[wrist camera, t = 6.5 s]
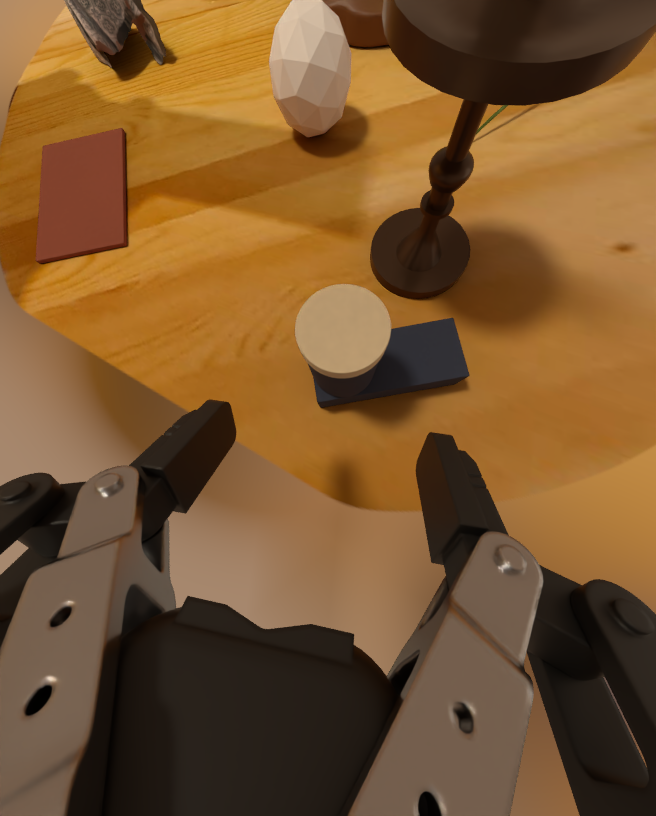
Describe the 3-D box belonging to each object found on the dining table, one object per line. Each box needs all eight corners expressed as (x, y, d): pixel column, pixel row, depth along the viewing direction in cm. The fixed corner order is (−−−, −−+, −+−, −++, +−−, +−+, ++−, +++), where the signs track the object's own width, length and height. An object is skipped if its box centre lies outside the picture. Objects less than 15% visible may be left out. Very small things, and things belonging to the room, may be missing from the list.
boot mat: (127, 245, 26) (123, 242, 25) (40, 263, 26) (35, 261, 26) (125, 131, 29) (122, 127, 28) (46, 149, 29) (42, 145, 29)
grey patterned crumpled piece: (122, 50, 26) (5, -60, 24) (150, 124, 33) (61, 44, 30) (173, 11, 28) (69, -96, 25) (190, 89, 34) (108, 11, 32)
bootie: (319, 409, 21) (302, 381, 13) (310, 354, 22) (288, 293, 13) (455, 385, 21) (537, 339, 12) (440, 331, 22) (506, 251, 13)
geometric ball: (304, 166, 29) (245, 102, 23) (322, 85, 28) (263, -7, 21) (352, 147, 25) (294, 60, 19) (377, 49, 23) (322, -83, 17)
